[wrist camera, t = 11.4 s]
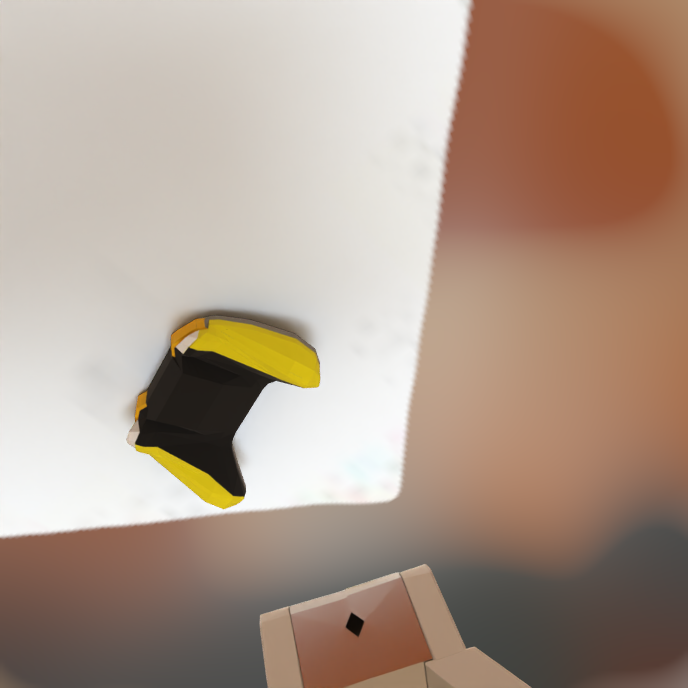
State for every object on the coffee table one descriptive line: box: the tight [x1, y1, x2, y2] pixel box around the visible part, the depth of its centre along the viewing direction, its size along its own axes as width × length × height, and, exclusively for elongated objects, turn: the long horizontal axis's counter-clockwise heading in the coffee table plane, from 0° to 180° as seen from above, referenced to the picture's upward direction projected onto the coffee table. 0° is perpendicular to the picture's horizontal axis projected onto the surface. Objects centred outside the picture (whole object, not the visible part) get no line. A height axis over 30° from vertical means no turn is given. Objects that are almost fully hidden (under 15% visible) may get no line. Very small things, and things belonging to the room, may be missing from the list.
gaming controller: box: [126, 315, 320, 509], centre depth 44 cm, size 15×6×10 cm
